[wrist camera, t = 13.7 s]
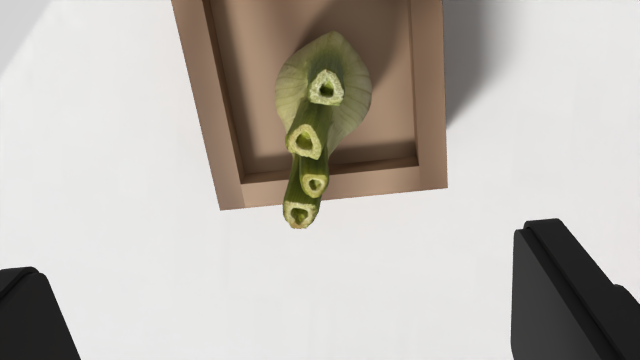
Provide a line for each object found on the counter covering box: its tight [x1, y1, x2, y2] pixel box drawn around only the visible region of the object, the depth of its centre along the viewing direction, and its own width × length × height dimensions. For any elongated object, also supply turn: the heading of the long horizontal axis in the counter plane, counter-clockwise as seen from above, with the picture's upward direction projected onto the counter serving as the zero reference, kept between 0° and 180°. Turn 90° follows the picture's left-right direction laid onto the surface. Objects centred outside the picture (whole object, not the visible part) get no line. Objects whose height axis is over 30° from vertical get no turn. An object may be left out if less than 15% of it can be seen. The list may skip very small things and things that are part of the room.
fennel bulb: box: [274, 31, 372, 229], centre depth 22 cm, size 6×5×12 cm
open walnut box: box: [171, 0, 448, 211], centre depth 29 cm, size 13×13×6 cm
